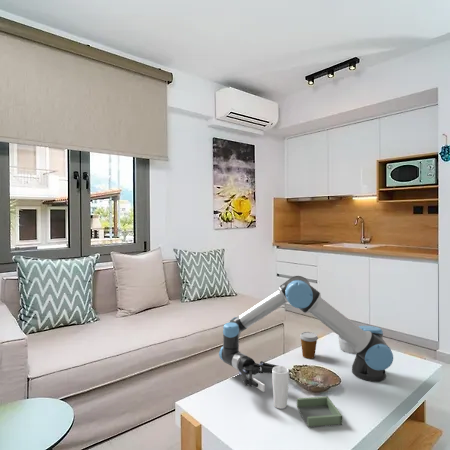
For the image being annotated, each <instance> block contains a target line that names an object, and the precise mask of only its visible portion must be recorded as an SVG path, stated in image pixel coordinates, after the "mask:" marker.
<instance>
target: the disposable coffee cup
mask: <svg viewBox="0 0 450 450" xmlns="http://www.w3.org/2000/svg"><path fill="white" fill-rule="evenodd" d="M299 338H300V344H301V351H302V358H304V359H309V360H310V359H314V358H315V357H316V356H315V355H316V349H317V343H318V339H319V337H318V334H317V333H315V332H311V331H303V332H301V333H300V335H299Z"/></svg>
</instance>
